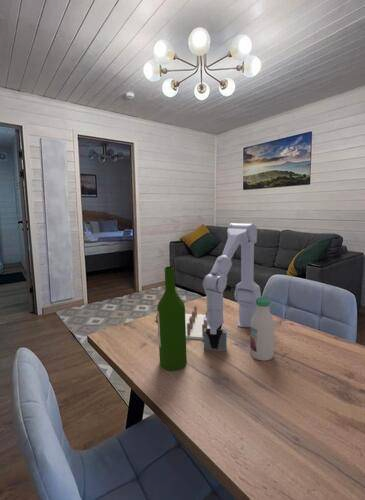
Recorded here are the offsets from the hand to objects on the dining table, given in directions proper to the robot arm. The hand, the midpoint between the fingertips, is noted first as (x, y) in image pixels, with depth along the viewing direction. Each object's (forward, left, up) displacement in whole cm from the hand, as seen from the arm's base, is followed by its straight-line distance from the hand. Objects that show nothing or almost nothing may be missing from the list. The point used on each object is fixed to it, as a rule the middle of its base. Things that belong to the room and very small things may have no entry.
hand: (215, 343), depth 98 cm
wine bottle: (+13, +11, -2) cm, 17 cm away
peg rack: (+8, -16, -2) cm, 18 cm away
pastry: (+24, -20, -2) cm, 32 cm away
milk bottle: (-16, +2, -2) cm, 16 cm away
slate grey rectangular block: (0, 0, -2) cm, 2 cm away
